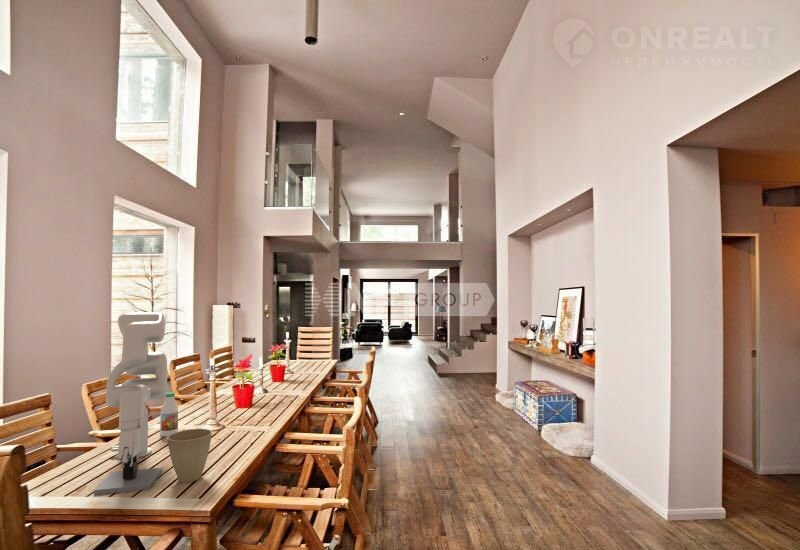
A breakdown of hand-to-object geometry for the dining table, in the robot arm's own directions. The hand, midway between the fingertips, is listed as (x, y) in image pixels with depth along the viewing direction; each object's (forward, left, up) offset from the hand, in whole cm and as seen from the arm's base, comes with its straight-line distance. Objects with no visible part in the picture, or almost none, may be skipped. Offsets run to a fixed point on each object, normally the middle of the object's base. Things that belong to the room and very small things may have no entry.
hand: (130, 475), depth 167 cm
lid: (0, 0, -2) cm, 2 cm away
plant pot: (+20, -2, -3) cm, 20 cm away
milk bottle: (-1, +61, -3) cm, 61 cm away
